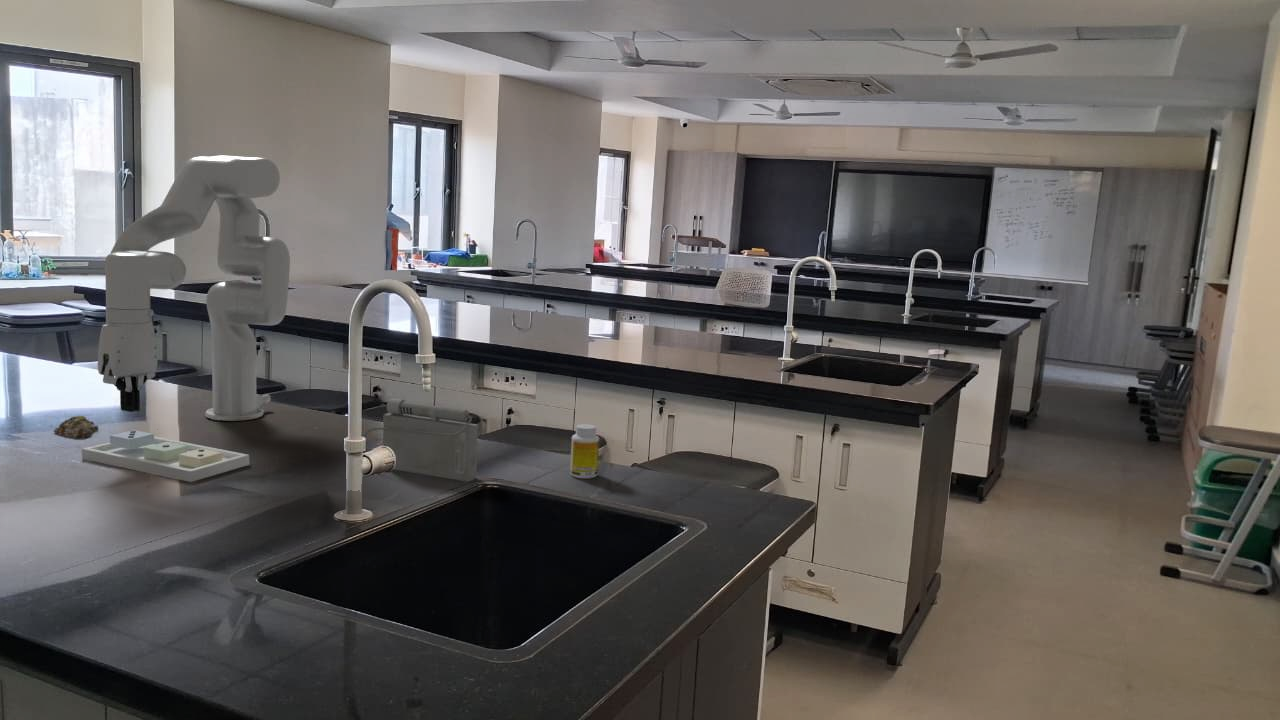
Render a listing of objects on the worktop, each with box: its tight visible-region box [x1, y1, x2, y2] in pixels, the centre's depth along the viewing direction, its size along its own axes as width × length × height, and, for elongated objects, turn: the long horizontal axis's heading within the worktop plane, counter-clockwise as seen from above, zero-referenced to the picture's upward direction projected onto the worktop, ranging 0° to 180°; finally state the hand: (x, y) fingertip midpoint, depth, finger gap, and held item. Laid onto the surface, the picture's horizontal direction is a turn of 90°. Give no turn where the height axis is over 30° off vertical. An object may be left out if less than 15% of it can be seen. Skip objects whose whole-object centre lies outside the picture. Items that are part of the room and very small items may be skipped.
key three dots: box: [109, 429, 155, 449], centre depth 187 cm, size 5×5×2 cm
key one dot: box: [144, 442, 188, 462], centre depth 184 cm, size 5×5×2 cm
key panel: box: [81, 435, 250, 483], centre depth 184 cm, size 14×28×2 cm, turn 68°
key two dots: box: [179, 448, 223, 468], centre depth 180 cm, size 5×5×2 cm
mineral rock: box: [53, 415, 100, 439], centre depth 201 cm, size 11×4×8 cm
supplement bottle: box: [569, 423, 600, 480], centre depth 191 cm, size 6×6×10 cm
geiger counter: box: [362, 398, 479, 482], centre depth 186 cm, size 14×6×25 cm
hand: (130, 410), depth 186 cm, fingers closed
